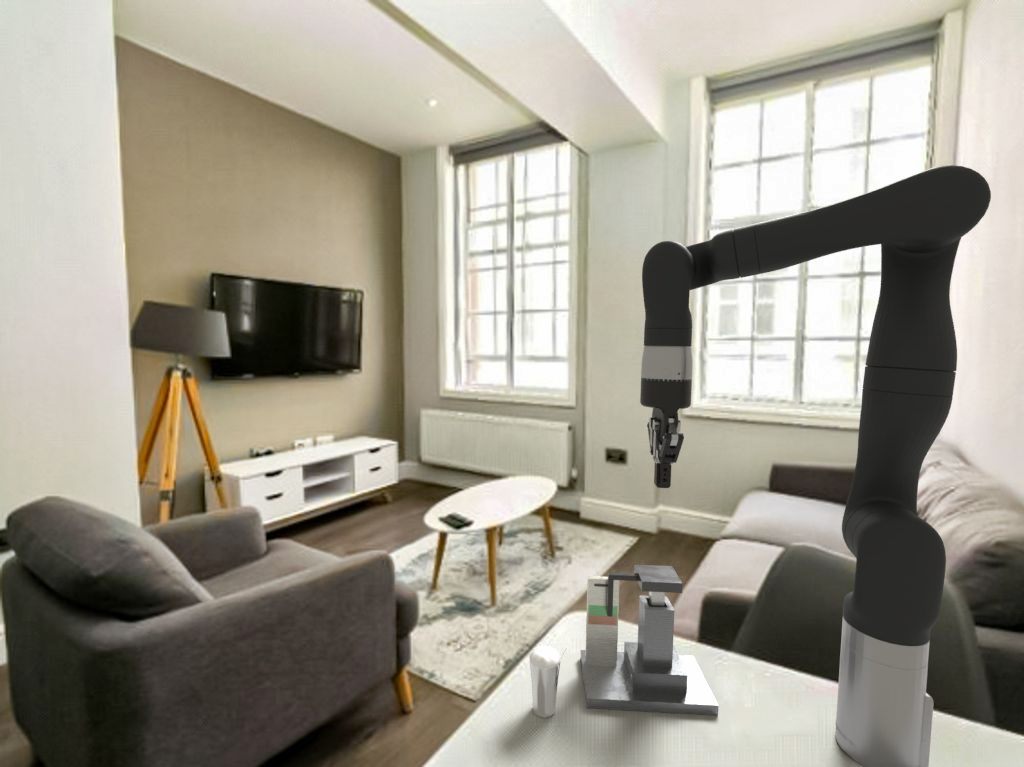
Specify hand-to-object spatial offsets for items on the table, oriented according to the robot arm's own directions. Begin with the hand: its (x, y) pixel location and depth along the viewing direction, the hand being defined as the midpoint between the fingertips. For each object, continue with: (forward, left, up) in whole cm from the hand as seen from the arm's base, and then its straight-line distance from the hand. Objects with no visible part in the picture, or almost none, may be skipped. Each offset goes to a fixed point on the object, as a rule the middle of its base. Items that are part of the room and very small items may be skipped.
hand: (662, 486), depth 79 cm
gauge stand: (+2, +1, -32) cm, 32 cm away
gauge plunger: (+3, +1, -25) cm, 25 cm away
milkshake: (+17, +8, -32) cm, 37 cm away
